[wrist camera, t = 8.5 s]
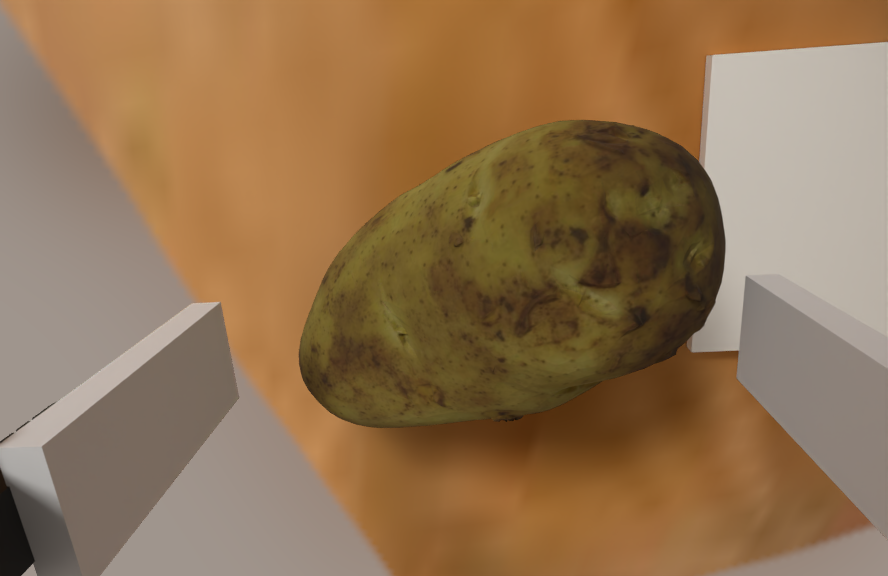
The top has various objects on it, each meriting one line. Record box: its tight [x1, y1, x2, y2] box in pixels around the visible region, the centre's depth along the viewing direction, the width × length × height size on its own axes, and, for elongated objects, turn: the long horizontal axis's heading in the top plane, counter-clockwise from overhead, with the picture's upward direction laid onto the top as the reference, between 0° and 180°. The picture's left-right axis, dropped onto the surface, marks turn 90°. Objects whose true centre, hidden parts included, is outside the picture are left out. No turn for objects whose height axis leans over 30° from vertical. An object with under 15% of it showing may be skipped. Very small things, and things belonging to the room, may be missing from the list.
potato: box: [299, 120, 726, 428], centre depth 17 cm, size 8×13×8 cm, turn 104°
